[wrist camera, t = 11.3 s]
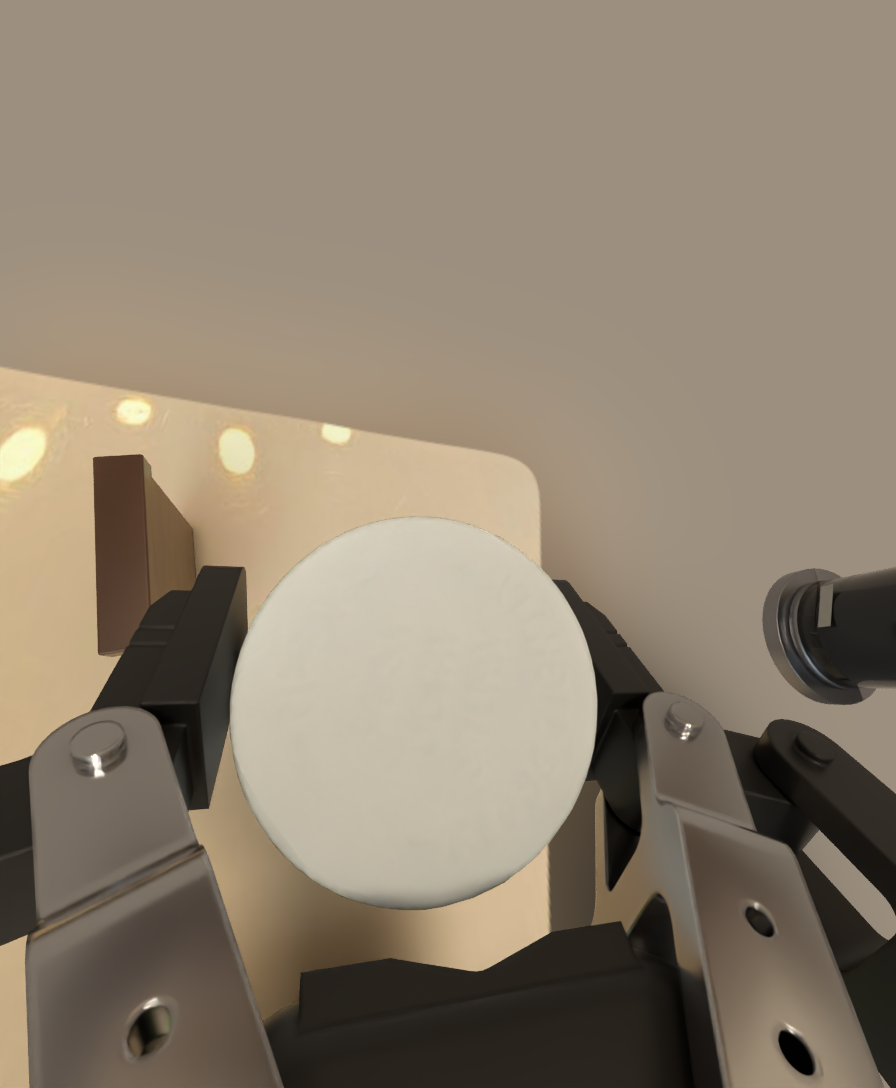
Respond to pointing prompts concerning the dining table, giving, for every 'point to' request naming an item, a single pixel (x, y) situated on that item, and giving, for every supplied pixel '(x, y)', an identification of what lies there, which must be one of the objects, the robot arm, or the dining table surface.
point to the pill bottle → (413, 713)
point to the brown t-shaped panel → (135, 548)
